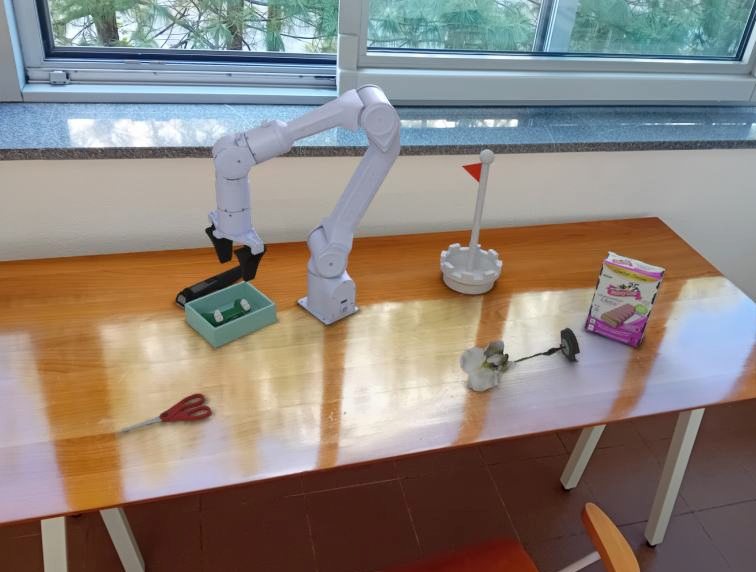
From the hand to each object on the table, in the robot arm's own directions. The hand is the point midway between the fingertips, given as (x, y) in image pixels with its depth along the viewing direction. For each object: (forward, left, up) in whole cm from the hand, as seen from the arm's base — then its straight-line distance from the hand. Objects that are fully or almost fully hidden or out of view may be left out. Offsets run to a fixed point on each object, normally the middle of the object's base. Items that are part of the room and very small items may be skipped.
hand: (237, 270), depth 134 cm
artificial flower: (-45, -29, -10) cm, 55 cm away
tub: (-1, +3, -10) cm, 10 cm away
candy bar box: (-50, -53, -10) cm, 74 cm away
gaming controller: (-1, +4, -9) cm, 10 cm away
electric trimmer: (+9, 0, -10) cm, 14 cm away
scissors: (-17, +25, -10) cm, 31 cm away
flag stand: (-19, -44, -10) cm, 49 cm away
